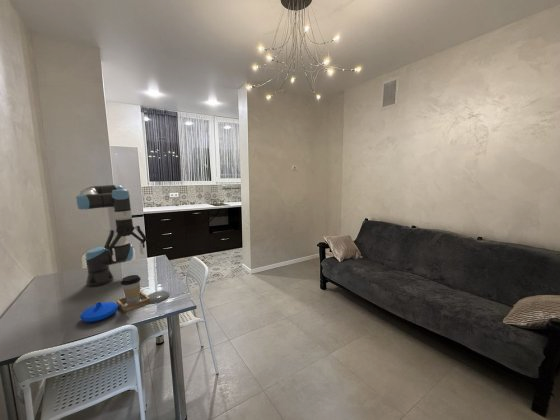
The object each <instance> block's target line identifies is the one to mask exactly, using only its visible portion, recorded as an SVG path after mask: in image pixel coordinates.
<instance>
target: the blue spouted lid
mask: <svg viewBox="0 0 560 420" xmlns="http://www.w3.org/2000/svg"><path fill="white" fill-rule="evenodd" d="M118 308H119V306H118V305H117V303H116V302H113V301H107V302H97V303H95V304H94V305H92V306H90V307H87V308H86V309H84V310H83V311H82V312H81V313H80V316H79V318H80V320H81V321H83V322H86V323H87V322H89V323H90V322H91V323H93V322H98V321H102V320H104V319H107V318H109V317H110V316H111V315H113V314H115V313H116V312H117V311H118Z"/></svg>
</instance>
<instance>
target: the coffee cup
mask: <svg viewBox="0 0 560 420" xmlns="http://www.w3.org/2000/svg"><path fill="white" fill-rule="evenodd" d="M140 281H141V277H140V276H139V275H138V274H132V275H128V276H125V277H123V278H122V279H121V281H120V285H122V290H123V293H124V297H126V300H127V302H126V303H127V306H128V305H131V304H134V303H136V302H139V301H141V297H140V292H141V283H140Z"/></svg>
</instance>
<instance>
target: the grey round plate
mask: <svg viewBox="0 0 560 420" xmlns="http://www.w3.org/2000/svg"><path fill="white" fill-rule="evenodd" d="M146 295H147V294H146ZM147 296H148V297H150V300H151V301H149V302H148V304H149V303H152V304H158V303H161V302H164V301H166V300H167V299H168V298H170V293H169V292H168V291H166V290H161V291H160V290H159V291H155V292H154V291H153V292H152V293H149V294H148V295H147ZM144 299H145V298H144ZM144 299H143V300H144Z"/></svg>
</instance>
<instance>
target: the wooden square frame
mask: <svg viewBox="0 0 560 420" xmlns="http://www.w3.org/2000/svg"><path fill="white" fill-rule="evenodd" d="M140 298H142V300H140V301H139V302H136V303H134V304H131V305H128V304H127V306H126V305H124V303H127V300H126V297H125V296H124V297H121V298H119V299H116V300H115V301H116V302H115V303H116V304H117V305H118V308H120V310H121V311H122V312H124V313H127V312H129V311H132V310H134V309H137V308H139V307H143V306H144V305H147V304H149V303H148V302H149V301H151V300H150V297H148V296H147V294H146V293H145V292H143V291H142V290H140ZM144 298H145V299H144Z"/></svg>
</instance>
